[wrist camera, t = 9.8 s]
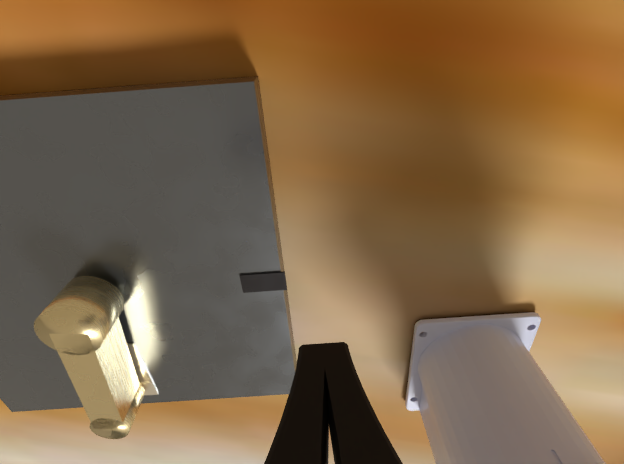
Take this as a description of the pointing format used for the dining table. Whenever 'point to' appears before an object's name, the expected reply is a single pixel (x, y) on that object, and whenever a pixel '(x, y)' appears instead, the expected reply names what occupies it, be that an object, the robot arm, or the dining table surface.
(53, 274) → the lock plate
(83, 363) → the lever
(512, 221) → the dining table surface
